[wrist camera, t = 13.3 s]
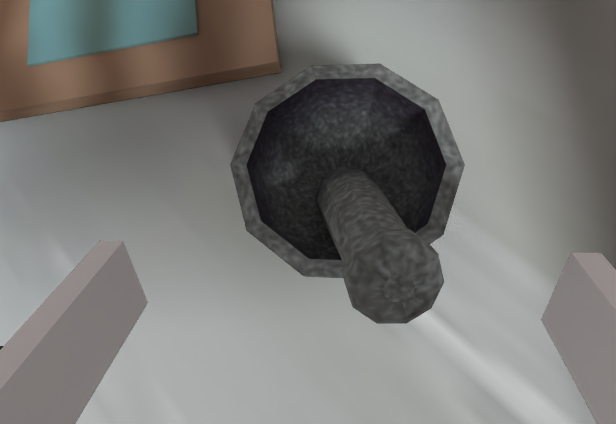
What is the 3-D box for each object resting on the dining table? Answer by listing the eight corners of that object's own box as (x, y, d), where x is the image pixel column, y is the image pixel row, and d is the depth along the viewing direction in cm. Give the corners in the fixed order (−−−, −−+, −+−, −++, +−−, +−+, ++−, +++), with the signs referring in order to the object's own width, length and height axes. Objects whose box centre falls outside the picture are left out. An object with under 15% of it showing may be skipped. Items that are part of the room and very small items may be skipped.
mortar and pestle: (252, 151, 24) (157, 17, 12) (393, 106, 23) (439, -77, 11) (298, 327, 21) (236, 377, 9) (458, 282, 21) (600, 275, 9)
